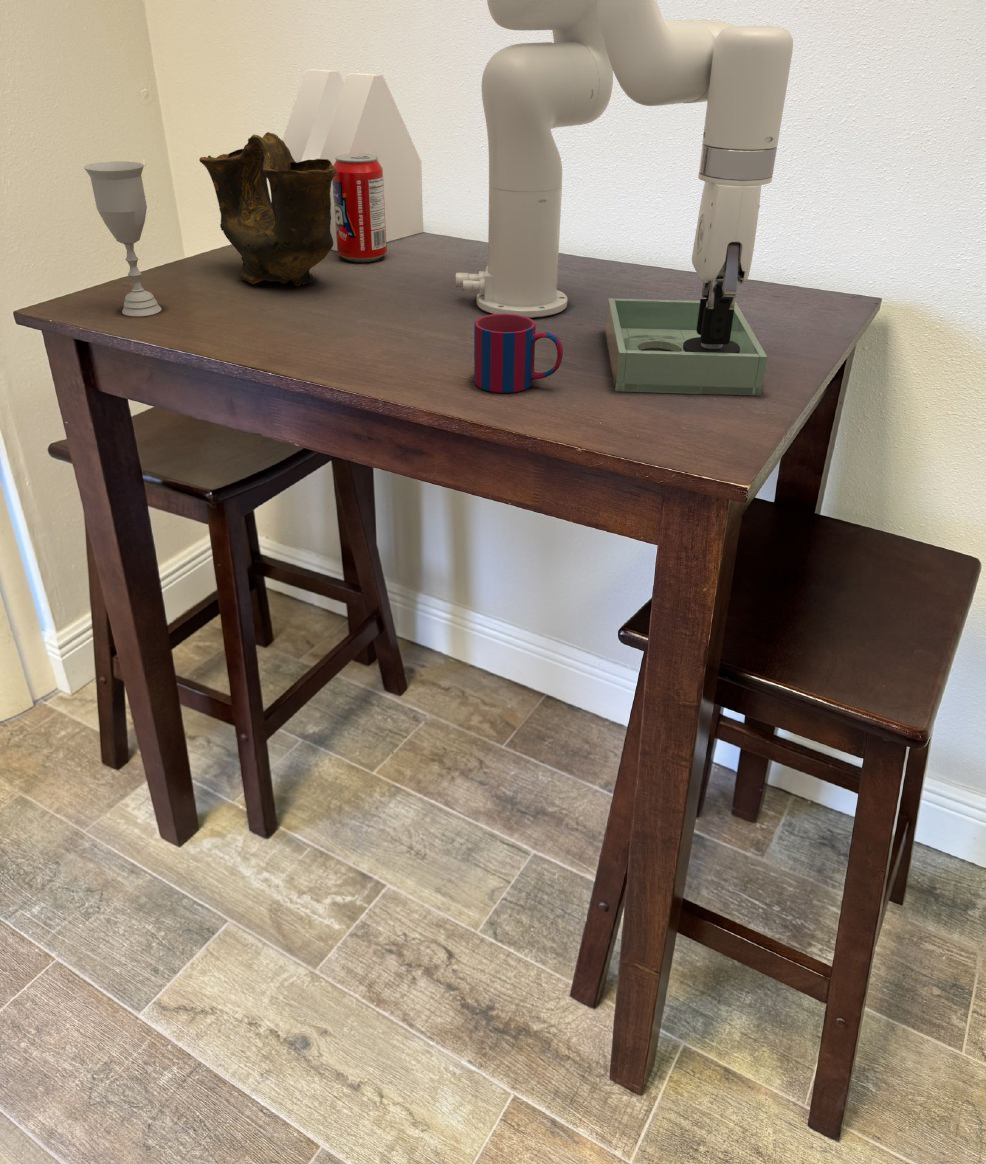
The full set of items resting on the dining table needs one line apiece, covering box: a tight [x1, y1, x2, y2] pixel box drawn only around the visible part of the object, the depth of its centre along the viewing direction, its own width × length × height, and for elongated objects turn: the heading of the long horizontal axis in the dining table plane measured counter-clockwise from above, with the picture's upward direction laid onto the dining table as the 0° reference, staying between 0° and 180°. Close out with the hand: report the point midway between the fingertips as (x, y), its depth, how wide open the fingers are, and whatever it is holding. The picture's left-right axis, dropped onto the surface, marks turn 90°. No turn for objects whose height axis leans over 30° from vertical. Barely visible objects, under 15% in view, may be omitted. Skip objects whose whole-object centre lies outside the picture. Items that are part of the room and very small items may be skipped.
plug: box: [683, 301, 740, 353], centre depth 106 cm, size 6×6×6 cm
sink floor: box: [605, 328, 762, 396], centre depth 112 cm, size 16×20×1 cm
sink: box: [605, 297, 768, 397], centre depth 111 cm, size 16×20×4 cm
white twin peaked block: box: [281, 68, 424, 252], centre depth 156 cm, size 19×15×25 cm
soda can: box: [332, 154, 388, 263], centre depth 146 cm, size 8×8×15 cm
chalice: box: [83, 160, 162, 317], centre depth 121 cm, size 7×7×18 cm
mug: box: [473, 313, 564, 394], centre depth 103 cm, size 7×10×7 cm
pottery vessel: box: [199, 131, 337, 287], centre depth 134 cm, size 25×11×20 cm, turn 46°
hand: (712, 337), depth 107 cm, fingers closed on plug, 2 cm apart
